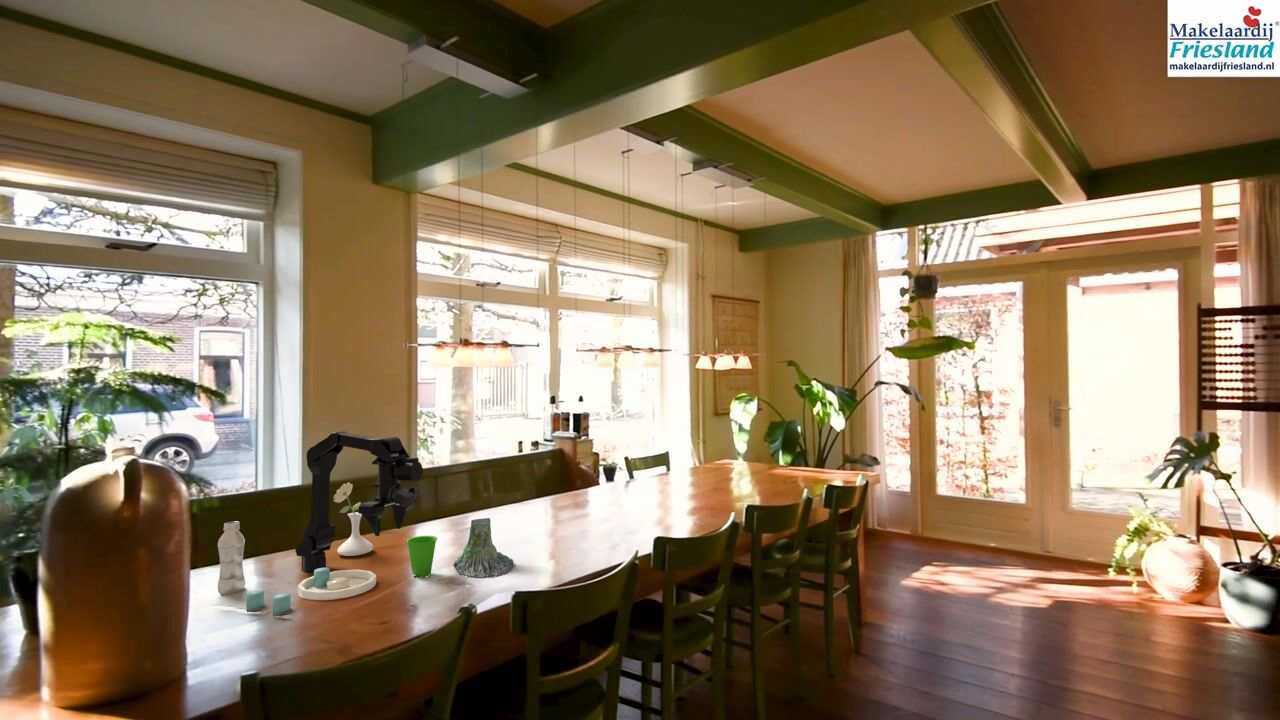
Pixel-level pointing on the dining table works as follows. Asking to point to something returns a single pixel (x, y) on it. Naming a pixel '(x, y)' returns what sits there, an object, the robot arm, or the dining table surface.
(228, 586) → the plastic bottle
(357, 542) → the flower in vase
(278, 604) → the bead
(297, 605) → the dining table surface
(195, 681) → the dining table surface
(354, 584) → the groove tray
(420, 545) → the cup
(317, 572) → the bead seated
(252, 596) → the bead
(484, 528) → the tree stump
